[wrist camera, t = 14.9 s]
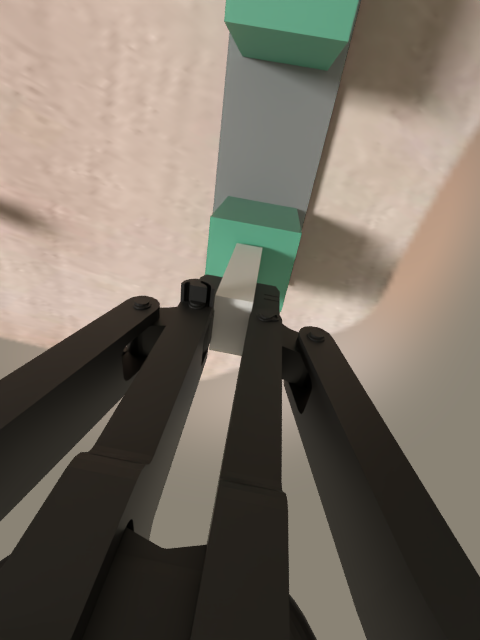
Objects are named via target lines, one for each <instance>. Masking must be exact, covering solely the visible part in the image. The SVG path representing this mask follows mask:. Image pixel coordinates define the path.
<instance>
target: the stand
mask: <svg viewBox="0 0 480 640" xmlns="http://www.w3.org/2000/svg"><path fill="white" fill-rule="evenodd" d="M360 3H361V0H226V7H225V19H224V22H225V24H226V26H227V27H228V29H229V31H230V33H229V44H228V55H227V66H226V77H225V88H224V98H223V109H222V120H221V131H220V142H219V153H218V164H217V174H216V185H215V196H214V207H213V213H214V212H215V211H216V210H217V208H218V207H219V206H220V205H221V204H222V203H223V202H224V200H225V199H226V198H227V197H228V196H231V197H237V198H242V199H248V200H253V201H259V202H264V203H270V204H275V205H281V206H286V207H292V208H297V212H298V217H299V222H300V227H301V231H302V227H303V223H304V219H305V215H306V211H307V208H308V204H309V200H310V196H311V192H312V188H313V184H314V181H315V177H316V173H317V169H318V165H319V161H320V157H321V153H322V150H323V146H324V142H325V138H326V134H327V130H328V126H329V122H330V119H331V115H332V111H333V107H334V103H335V99H336V95H337V92H338V88H339V84H340V80H341V76H342V72H343V68H344V64H345V61H346V57H347V53H348V49H349V45H350V41H351V37H352V33H353V30H354V26H355V22H356V18H357V14H358V10H359V6H360Z"/></svg>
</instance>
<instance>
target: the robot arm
mask: <svg viewBox="0 0 480 640" xmlns="http://www.w3.org/2000/svg"><path fill="white" fill-rule="evenodd" d="M261 254H262V247H256V246H251V245H245V244H240V243H237V244H236V246H235V249H234V251H233V254H232V256H231V258H230V261H229V263H228V266H227V268H226V271H225V273H224V275H223V277H219V276H214V275H208V274H206V275H204V276H203V277H201V278H200V279H189V280H185V281H184V282H182V283H181V302H180V303H179V305H178V307H171V308H160V303H159V302H158V300H156V299H154V298H152V297H148V296H137V297H132V298H130V299H128V300H126V301H125V302H123V303H121V304H120V305H118V306H117V307H115V308H113V309H112V310H110V311H109V312H107V313H106V314H104V315H102V316H101V317H99V318H98V319H96V320H94V321H93V322H91V323H90V324H88V325H87V326H85V327H83V328H82V329H80V330H79V331H77V332H75V333H74V334H72V335H71V336H69V337H68V338H66V339H64V340H63V341H61V342H60V343H58V344H56V345H55V346H53V347H52V348H50V349H48V350H47V351H45V352H44V353H42V354H41V355H39V356H37V357H36V358H34V359H33V360H31V361H30V362H28V363H26V364H25V365H23V366H22V367H20V368H18V369H17V370H15V371H14V372H12V373H10V374H9V375H7V376H6V377H4V378H3V379H1V380H0V521H1V520H2V519H3V518H4V517H5V516H6V515H7V514H8V513H9V512H10V511H11V510H12V509H13V508H14V507H15V506H16V505H17V504H18V503H19V502H20V501H21V500H22V499H23V497H25V496H26V495H27V493H29V492H30V491H31V490H32V489H33V488H34V487H35V486H36V485H37V484H38V482H39V481H41V479H42V478H43V477H44V476H45V475H46V474H47V473H48V472H49V471H50V470H51V469H52V468H53V467H54V466H55V465H56V464H57V463H58V462H59V461H60V460H61V459H62V458H63V457H64V456H65V455H66V454H67V453H68V452H69V451H70V450H71V449H72V448H73V447H74V446H75V445H76V444H77V443H78V442H79V441H80V440H81V439H82V438H83V437H84V436H85V435H86V434H87V433H88V432H89V431H90V429H92V428H93V426H94V425H95V424H97V422H98V421H99V420H100V419H101V418H102V417H103V416H104V415H105V414H106V413H107V412H108V411H109V410H110V409H111V408H112V407H113V406H114V405H115V404H116V403H117V402H118V401H119V400H120V399H121V398H122V397H123V396H124V397H123V398H122V400H121V402H120V403H119V405H118V407H117V408H116V410H115V412H114V413H113V415H112V417H111V418H110V420H109V422H108V423H107V425H106V427H105V428H104V430H103V432H102V433H101V435H100V437H99V438H98V440H97V442H96V443H95V445H94V446H93V448H92V449H91V450H90V451H89V452H82V453H79V454H78V455H77V456H75V457H74V459H73V460H72V461H71V462H70V464H69V465H68V466H67V468H66V469H65V471H64V472H63V474H62V475H61V477H60V479H59V480H58V482H57V483H56V485H55V486H54V488H53V489H52V491H51V493H50V494H49V496H48V497H47V499H46V500H45V502H44V503H43V505H42V507H41V508H40V510H39V511H38V513H37V514H36V516H35V517H34V519H33V521H32V522H31V524H30V525H29V527H28V528H27V530H26V531H25V533H24V535H23V536H22V538H21V539H20V541H19V543H18V544H17V546H16V547H15V549H14V550H13V552H12V553H11V554H10V555H9V556H7V557H6V558H4V559H3V560H1V561H0V640H317V639H316V637H315V635H314V633H313V632H312V630H311V628H310V626H309V624H308V622H307V620H306V618H305V616H304V615H303V613H302V611H301V610H300V608H299V607H298V605H297V604H296V602H295V601H294V600H293V598H292V597H291V596H290V595H289V561H288V560H289V559H288V558H289V557H288V504H287V497H286V494H285V493H284V492H283V491H282V483H281V467H282V464H281V462H282V461H281V460H282V459H281V457H282V455H281V454H282V451H281V450H282V446H281V445H282V379H284V387H285V390H286V393H287V396H288V399H289V402H290V405H291V408H292V412H293V415H294V418H295V421H296V424H297V427H298V430H299V433H300V437H301V440H302V443H303V446H304V449H305V452H306V455H307V458H308V462H309V465H310V468H311V471H312V474H313V477H314V480H315V483H316V486H317V489H318V493H319V496H320V499H321V502H322V505H323V508H324V511H325V514H326V518H327V521H328V523H329V527H330V530H331V533H332V536H333V539H334V542H335V545H336V549H337V552H338V555H339V558H340V561H341V564H342V567H343V570H344V573H345V577H346V580H347V583H348V586H349V589H350V592H351V595H352V598H353V602H354V605H355V607H356V611H357V613H358V616H359V619H360V621H361V624H362V627H363V630H364V633H365V636H366V638H367V640H480V577H479V575H478V573H477V572H476V570H475V569H474V567H473V565H472V564H471V562H470V560H469V559H468V557H467V556H466V554H465V552H464V551H463V549H462V547H461V546H460V544H459V543H458V541H457V539H456V538H455V536H454V535H453V533H452V531H451V530H450V528H449V526H448V525H447V523H446V521H445V520H444V518H443V516H442V515H441V513H440V512H439V510H438V508H437V507H436V505H435V504H434V502H433V500H432V499H431V497H430V495H429V494H428V492H427V491H426V489H425V487H424V486H423V484H422V482H421V481H420V479H419V477H418V476H417V474H416V473H415V471H414V469H413V468H412V466H411V464H410V463H409V461H408V460H407V458H406V456H405V455H404V453H403V451H402V450H401V448H400V447H399V445H398V443H397V442H396V440H395V439H394V437H393V435H392V434H391V432H390V430H389V429H388V427H387V425H386V424H385V422H384V421H383V419H382V417H381V416H380V414H379V412H378V411H377V409H376V408H375V406H374V404H373V403H372V401H371V399H370V398H369V396H368V395H367V393H366V391H365V390H364V388H363V386H362V385H361V383H360V382H359V380H358V378H357V377H356V375H355V374H354V372H353V370H352V368H351V367H350V365H349V364H348V362H347V360H346V359H345V357H344V356H343V354H342V353H341V351H340V349H339V347H338V346H337V344H336V342H335V341H334V339H333V338H332V336H331V335H330V334H329V333H328V332H326V331H324V330H323V329H321V328H318V327H312V326H309V327H303V328H301V329H300V331H299V332H296V331H294V330H291V329H289V328H287V327H286V326H284V325H283V324H282V319H281V316H280V315H279V314H280V291H279V290H278V289H277V287H276V286H272V285H266V284H261V283H257V277H258V271H259V265H260V260H261ZM209 344H210V346H209ZM208 347H209V350H214V351H219V352H224V353H229V354H235V355H240V356H242V358H241V363H240V368H239V374H238V379H237V384H236V390H235V395H234V400H233V406H232V411H231V417H230V422H229V427H228V433H227V439H226V444H225V449H224V454H223V460H222V465H221V471H220V476H219V481H218V487H217V493H216V497H215V503H214V508H213V513H212V519H211V524H210V530H209V535H208V541H207V545H200V546H190V547H181V548H172V549H164V548H161V547H159V546H157V545H155V544H154V543H152V542H151V541H149V537H150V532H151V527H152V523H153V519H154V515H155V512H156V510H157V506H158V504H159V500H160V497H161V495H162V491H163V488H164V485H165V482H166V479H167V476H168V473H169V470H170V467H171V464H172V461H173V458H174V455H175V452H176V449H177V446H178V443H179V440H180V437H181V434H182V431H183V428H184V425H185V422H186V419H187V416H188V413H189V410H190V407H191V404H192V401H193V398H194V395H195V392H196V389H197V386H198V383H199V380H200V377H201V374H202V371H203V368H204V365H205V362H206V359H207V353H208Z"/></svg>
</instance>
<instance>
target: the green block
mask: <svg viewBox="0 0 480 640" xmlns="http://www.w3.org/2000/svg"><path fill="white" fill-rule="evenodd" d="M301 234H302V232H301V227H300V222H299V217H298V212H297V208H292V207H286V206H281V205H275V204H270V203H264V202H259V201H253V200H248V199H242V198H237V197H231V196H228V197H227V198H226V199H225V200H224V202H223V203H222V204H221V205H220V206H219V207H218V208H217V210H216V211H215V212H214V213H213V214H212V215H211V217H210V227H209V238H208V249H207V260H206V271H205V275H206V274H208V275H214V276H219V277H223V275H224V273H225V271H226V268H227V266H228V263H229V261H230V258H231V256H232V254H233V251H234V249H235V246H236V244H237V243H240V244H245V245H251V246H256V247H262V254H261V260H260V265H259V271H258V277H257V283H261V284H266V285H272V286H276V287H277V289H278V290H279V291H280V312H281V310H282V307H283V303H284V299H285V295H286V291H287V288H288V284H289V280H290V276H291V272H292V269H293V265H294V261H295V257H296V253H297V250H298V246H299V242H300V238H301Z"/></svg>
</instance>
